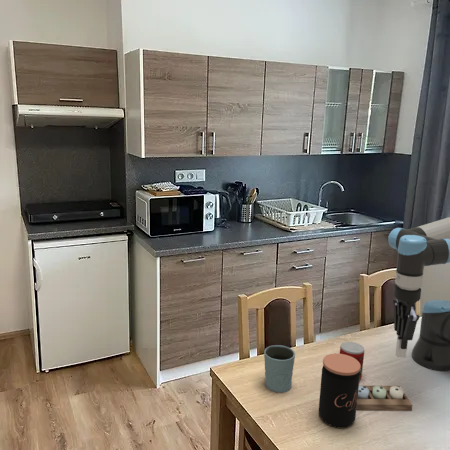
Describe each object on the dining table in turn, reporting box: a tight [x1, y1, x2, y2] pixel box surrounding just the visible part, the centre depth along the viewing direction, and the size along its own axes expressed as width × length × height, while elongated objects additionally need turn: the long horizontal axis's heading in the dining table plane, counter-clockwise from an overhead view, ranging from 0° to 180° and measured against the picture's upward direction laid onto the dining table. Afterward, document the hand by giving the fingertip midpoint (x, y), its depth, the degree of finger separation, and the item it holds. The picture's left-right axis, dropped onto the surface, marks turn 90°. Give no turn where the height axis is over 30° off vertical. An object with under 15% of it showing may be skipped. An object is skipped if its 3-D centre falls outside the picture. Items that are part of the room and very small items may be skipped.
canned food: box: [339, 341, 365, 381], centre depth 152 cm, size 8×8×11 cm
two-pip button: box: [372, 385, 386, 399], centre depth 139 cm, size 4×4×3 cm
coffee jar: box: [318, 353, 361, 429], centre depth 129 cm, size 11×11×18 cm
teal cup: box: [263, 344, 296, 393], centre depth 145 cm, size 10×10×12 cm
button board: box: [356, 384, 413, 412], centre depth 139 cm, size 17×10×2 cm, turn 91°
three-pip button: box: [357, 385, 369, 399], centre depth 139 cm, size 4×4×3 cm
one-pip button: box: [389, 385, 405, 399], centre depth 139 cm, size 4×4×3 cm
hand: (400, 356), depth 139 cm, fingers closed
